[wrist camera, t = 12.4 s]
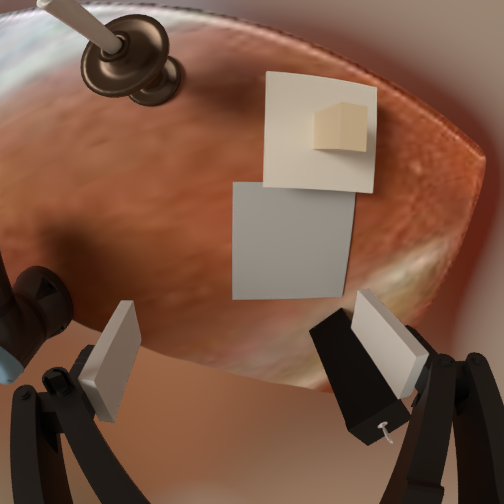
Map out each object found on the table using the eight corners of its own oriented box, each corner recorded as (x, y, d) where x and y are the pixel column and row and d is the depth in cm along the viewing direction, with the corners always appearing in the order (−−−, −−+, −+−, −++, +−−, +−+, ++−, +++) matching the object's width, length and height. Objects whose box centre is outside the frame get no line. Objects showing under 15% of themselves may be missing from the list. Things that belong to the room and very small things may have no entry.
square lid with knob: (262, 186, 38) (274, 199, 28) (265, 72, 33) (278, 45, 23) (370, 192, 39) (410, 207, 29) (374, 88, 34) (414, 74, 24)
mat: (232, 297, 50) (232, 299, 50) (233, 181, 44) (233, 181, 43) (340, 295, 52) (341, 296, 51) (354, 187, 45) (356, 187, 44)
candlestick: (184, 44, 35) (110, -110, 2) (189, 104, 39) (80, -9, 6) (120, 59, 35) (-23, -32, 2) (123, 118, 39) (-58, 88, 6)
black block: (327, 352, 56) (374, 462, 30) (307, 330, 54) (354, 449, 27) (358, 330, 55) (421, 433, 29) (341, 306, 52) (409, 416, 26)
